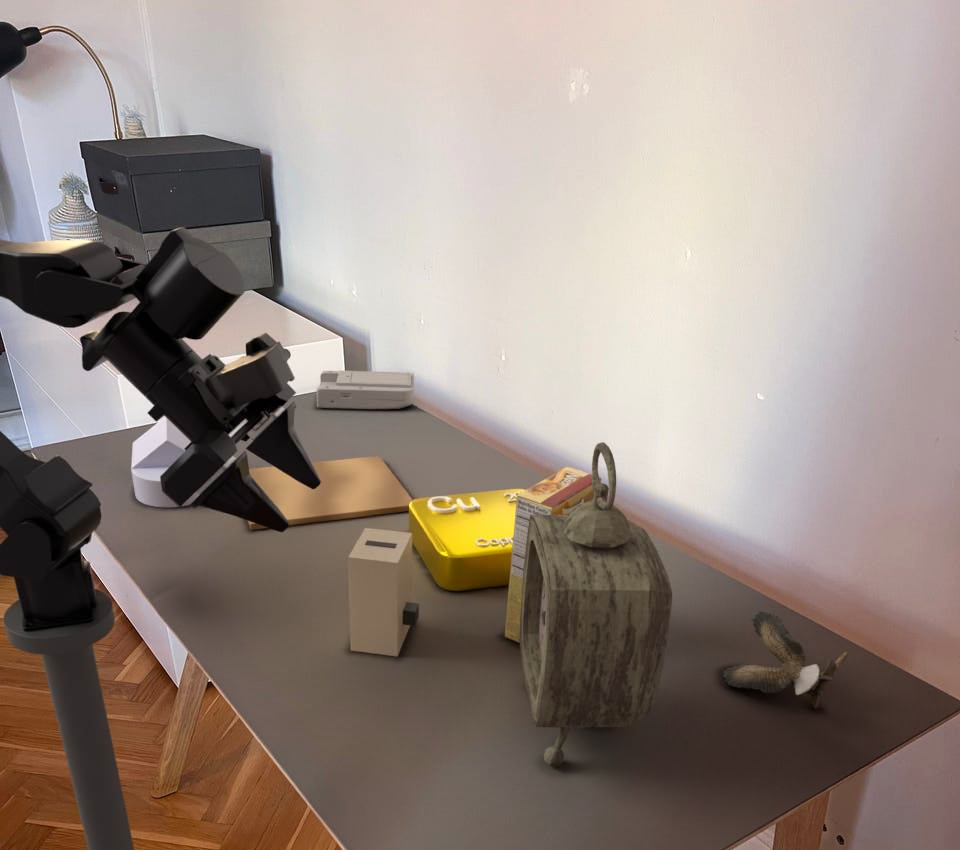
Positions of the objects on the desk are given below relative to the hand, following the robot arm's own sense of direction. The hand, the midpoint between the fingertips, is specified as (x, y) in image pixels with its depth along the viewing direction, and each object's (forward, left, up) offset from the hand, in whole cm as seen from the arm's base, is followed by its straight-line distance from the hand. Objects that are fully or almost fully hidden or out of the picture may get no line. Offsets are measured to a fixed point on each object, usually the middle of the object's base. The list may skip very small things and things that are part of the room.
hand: (302, 506), depth 85 cm
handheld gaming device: (+23, +62, -9) cm, 67 cm away
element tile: (+22, +9, -13) cm, 28 cm away
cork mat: (+8, +30, -13) cm, 34 cm away
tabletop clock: (+18, -22, -13) cm, 31 cm away
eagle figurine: (+38, -23, -13) cm, 46 cm away
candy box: (+22, -7, -13) cm, 27 cm away
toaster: (+6, -4, -13) cm, 15 cm away
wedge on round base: (-9, +37, -13) cm, 41 cm away
